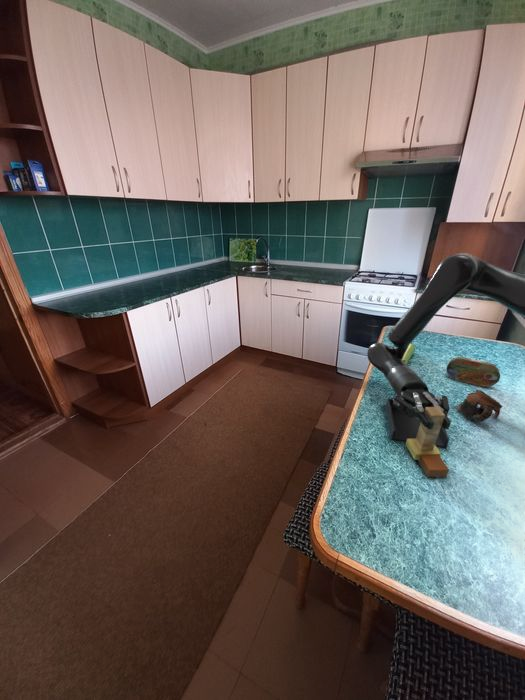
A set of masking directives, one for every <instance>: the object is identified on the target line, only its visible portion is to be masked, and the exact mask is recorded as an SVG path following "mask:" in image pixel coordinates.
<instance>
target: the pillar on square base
mask: <svg viewBox="0 0 525 700" xmlns="http://www.w3.org/2000/svg"><path fill="white" fill-rule="evenodd" d="M424 412H426V413H427V414H428V415H429V417H430V418H431V419H432V420H433V422H434V426H433V429H432V430H429V429H428V428H427V427H425V426H424V425H423V424H422V423H420V427H419V430H418V433H417V436H416V439H407V441H406V442H405V446H406V448H407V449H408V451H409V453H410V455H411V456H412V458H413V460H415V461H419V459H420V456H421V455H439V456H440V457H441V455H442V453H441V451H440V449H438V448H439V447H436V446H435V443H436V440H437V437H438V434H439V431H440V428H441V426H442V423H443V420H444V417H445V415H444V413H443V412H442V411H441V410H440V409H439V407H425V410H424Z"/></svg>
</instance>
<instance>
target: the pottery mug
mask: <svg viewBox="0 0 525 700" xmlns="http://www.w3.org/2000/svg"><path fill="white" fill-rule="evenodd" d="M478 405H479V407H478ZM501 409H503V405H502V404H501V403H500V402H499V401H497V400H496V399H494V398H493V397H492V396H490V395H488V394H487V393H485V392H483V391H482V390H480V389H476V390H475V391H474V392H470V393H467V395H466V398H465V399H464V400H463V402H460V403H459V404H458V406H457V409H456V410H457V411H458V412H459V413H460V414H461V415H462V416H464V417H465V418H466V419H467V420H469V421H470V420H472V418H474V419H475V420H476V421H477V422H484V421H486V420H488V419H489V418H491V417H492V415H493V418H494V419H498V418H499V416H500V414H501ZM493 413H494V414H493Z"/></svg>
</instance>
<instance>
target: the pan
mask: <svg viewBox="0 0 525 700" xmlns="http://www.w3.org/2000/svg"><path fill="white" fill-rule="evenodd" d="M393 401H394V398H389V397H388V398H386V402H385V403H386V404H385V411H386V416H387V421H388V422H387V423H388V429H389V432H390V439H391V440H392V441H399V442H405V443H406V441H407V439H416V436H417V433H418V430H419V427H420V423H421V421H420V420H419V419H417V418H416V417H413V418H410V417H408V416H407V415H405V414H404V413H403V412H401V411H400V410H399V409H397V408H396V407H394V406H393ZM407 410H408V411H409V409H407ZM424 410H425V409H424ZM449 442H450V437H449V435H448V433H447V429H444V428H443V427H442V426H441V428H440V431H439V434H438V437H437V440H436V443H435V446H436V447H437V448H441V449H447V447H448V445H449Z"/></svg>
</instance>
